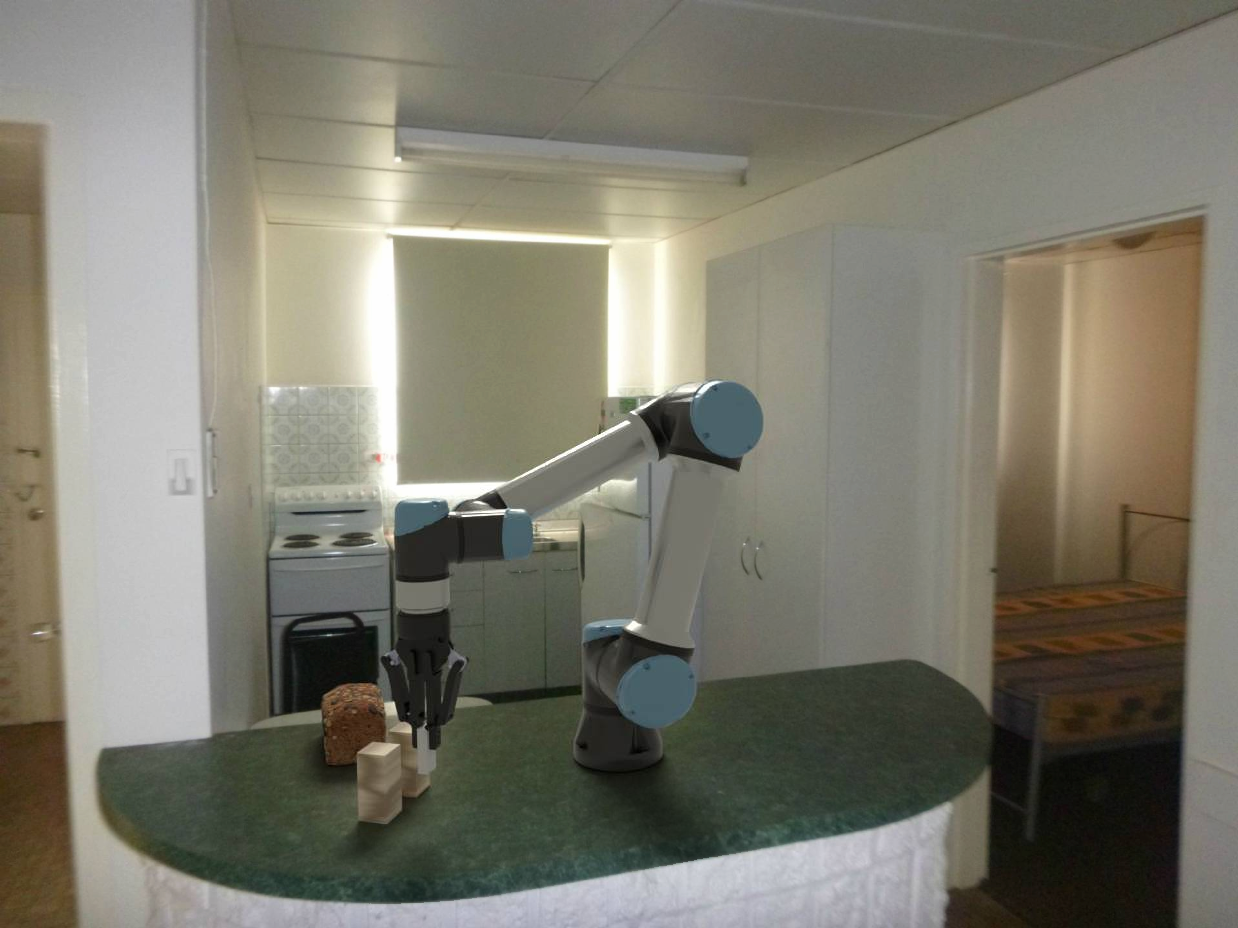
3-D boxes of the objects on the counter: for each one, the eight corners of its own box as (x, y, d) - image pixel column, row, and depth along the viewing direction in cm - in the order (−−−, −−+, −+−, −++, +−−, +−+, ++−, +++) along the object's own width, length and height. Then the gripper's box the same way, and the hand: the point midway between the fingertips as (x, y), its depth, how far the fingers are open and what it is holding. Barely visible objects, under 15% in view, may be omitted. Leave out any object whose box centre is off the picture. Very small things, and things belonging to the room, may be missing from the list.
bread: (388, 761, 151) (386, 703, 151) (321, 770, 148) (319, 710, 148) (382, 725, 169) (380, 673, 168) (322, 732, 166) (320, 679, 165)
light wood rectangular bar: (402, 810, 132) (400, 744, 132) (386, 824, 128) (384, 755, 127) (374, 807, 134) (372, 741, 133) (358, 820, 129) (356, 752, 129)
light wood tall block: (429, 785, 141) (428, 723, 141) (416, 797, 137) (414, 733, 136) (403, 782, 142) (402, 721, 142) (389, 794, 138) (387, 731, 137)
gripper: (476, 603, 129) (479, 764, 130) (394, 600, 132) (398, 756, 134) (454, 615, 122) (458, 785, 123) (368, 611, 125) (372, 776, 126)
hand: (427, 770), depth 128 cm, fingers closed
